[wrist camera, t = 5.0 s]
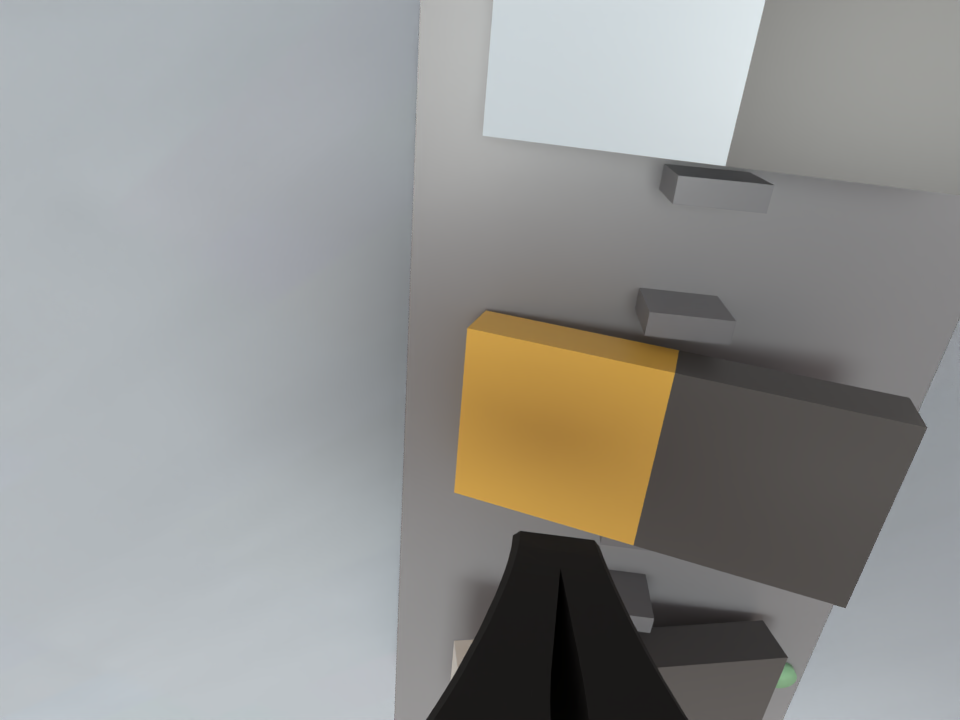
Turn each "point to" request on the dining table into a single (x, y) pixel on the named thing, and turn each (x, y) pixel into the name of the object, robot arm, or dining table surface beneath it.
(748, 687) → the rocker
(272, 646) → the dining table surface
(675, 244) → the rocker switch panel
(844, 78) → the rocker
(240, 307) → the dining table surface
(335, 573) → the dining table surface
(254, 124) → the dining table surface
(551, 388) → the block
